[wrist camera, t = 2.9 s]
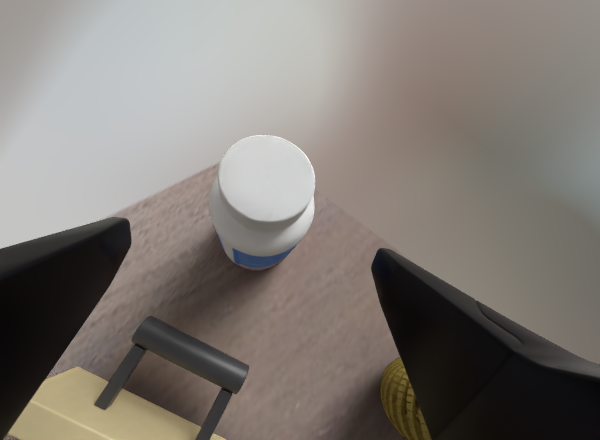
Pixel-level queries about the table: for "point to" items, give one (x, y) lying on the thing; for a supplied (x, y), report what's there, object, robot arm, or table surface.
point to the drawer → (129, 395)
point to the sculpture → (402, 403)
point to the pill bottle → (262, 200)
